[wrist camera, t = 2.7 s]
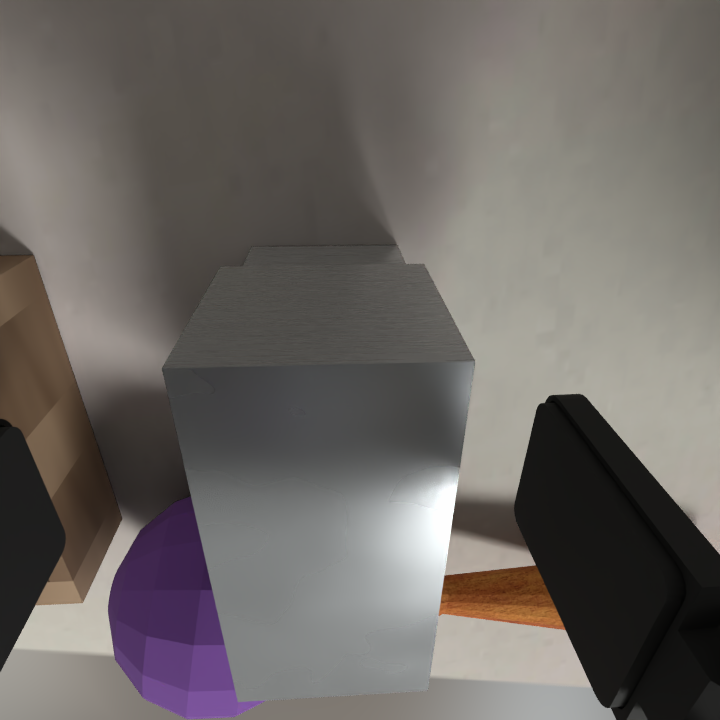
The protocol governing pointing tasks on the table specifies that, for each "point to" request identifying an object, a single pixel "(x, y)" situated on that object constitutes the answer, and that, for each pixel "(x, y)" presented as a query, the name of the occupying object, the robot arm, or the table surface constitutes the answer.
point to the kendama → (202, 626)
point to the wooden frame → (53, 428)
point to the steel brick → (323, 464)
